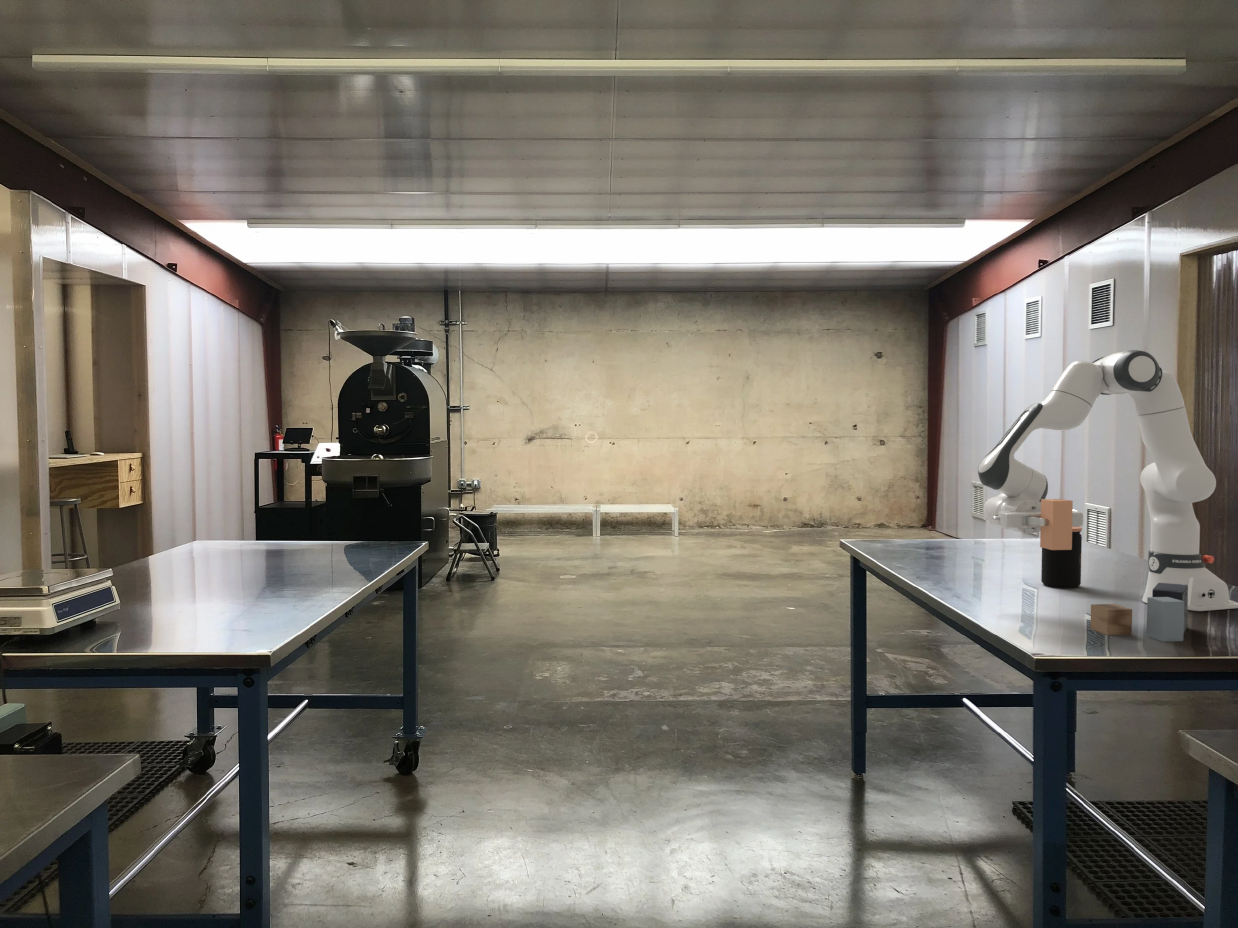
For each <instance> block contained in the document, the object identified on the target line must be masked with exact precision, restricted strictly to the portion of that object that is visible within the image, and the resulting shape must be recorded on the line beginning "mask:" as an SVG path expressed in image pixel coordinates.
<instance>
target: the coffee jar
mask: <svg viewBox="0 0 1238 928" xmlns="http://www.w3.org/2000/svg"><path fill="white" fill-rule="evenodd" d="M1082 529H1083V528H1082V526H1081V527H1072V550H1050V549H1046V548H1042V547H1041V576H1040V578H1041V579H1040V580H1041V583H1042V584H1043V585H1044V586H1046V587H1048V588H1053V589H1055V588H1056V589H1063V590H1064V589H1065V590H1066V589H1068V590H1069V589H1077V588H1079V587H1080V585H1081V583H1082V549H1083V548H1082V542H1083V541H1082V539H1083V537H1082V534H1081V532H1082Z"/></svg>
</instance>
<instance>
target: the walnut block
mask: <svg viewBox="0 0 1238 928" xmlns="http://www.w3.org/2000/svg"><path fill="white" fill-rule="evenodd" d="M1090 630H1091V631H1092V630H1093V631H1094V632H1097V633H1100V634H1103V635H1105V636H1129V635H1133V609H1132V608H1129V607H1126V606H1123V605H1119V604H1116V603H1102V604H1101V603H1100V604H1099V603H1098V604H1097V603H1096V604H1095V603H1094V604H1090Z"/></svg>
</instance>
